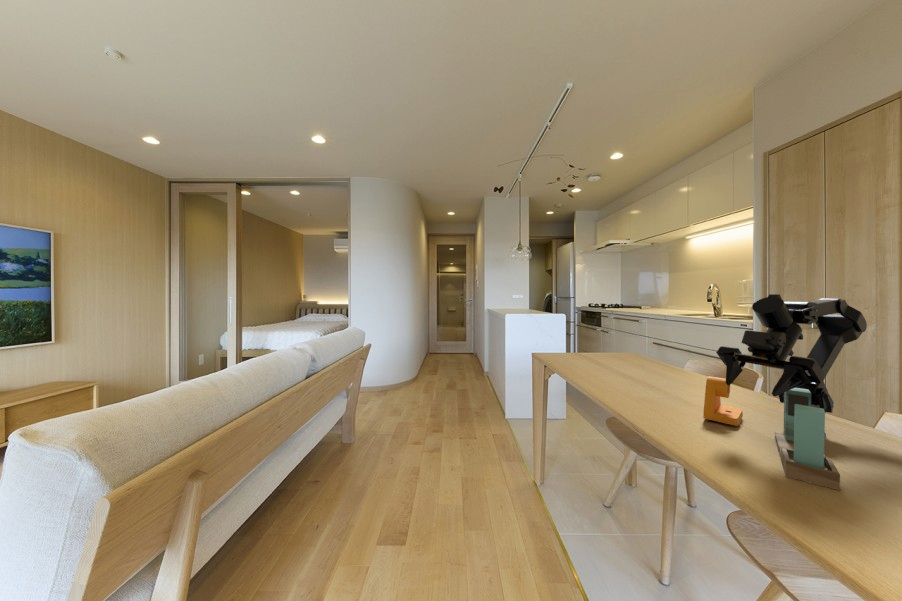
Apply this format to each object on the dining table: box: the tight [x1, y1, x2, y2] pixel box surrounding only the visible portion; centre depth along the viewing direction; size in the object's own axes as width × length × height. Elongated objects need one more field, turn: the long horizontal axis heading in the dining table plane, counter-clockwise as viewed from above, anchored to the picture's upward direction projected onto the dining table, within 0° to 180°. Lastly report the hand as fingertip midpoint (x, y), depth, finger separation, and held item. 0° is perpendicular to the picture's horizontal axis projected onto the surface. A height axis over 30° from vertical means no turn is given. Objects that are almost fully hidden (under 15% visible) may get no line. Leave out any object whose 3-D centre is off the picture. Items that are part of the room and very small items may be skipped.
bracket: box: [702, 375, 744, 427], centre depth 93 cm, size 11×7×12 cm, turn 131°
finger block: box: [794, 404, 826, 469], centre depth 65 cm, size 4×4×12 cm
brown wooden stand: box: [774, 388, 841, 491], centre depth 70 cm, size 22×7×14 cm, turn 139°
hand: (749, 389), depth 77 cm, fingers open, 9 cm apart
